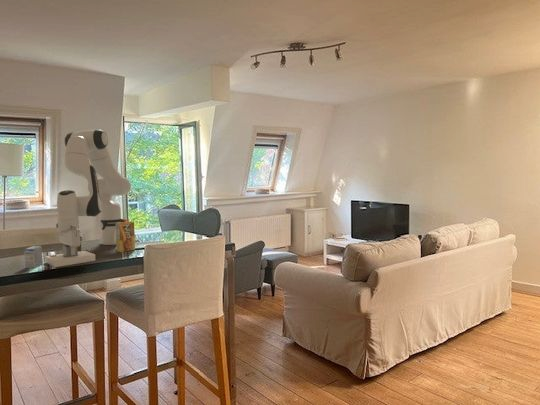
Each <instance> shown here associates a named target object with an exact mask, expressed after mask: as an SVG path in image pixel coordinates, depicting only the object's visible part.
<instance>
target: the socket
mask: <svg viewBox="0 0 540 405" xmlns="http://www.w3.org/2000/svg"><path fill="white" fill-rule="evenodd" d="M95 261H96V254H95V253H92V252H89V251H87V250H81V251H79V252H78V256H72V257H63V253H59V254H52V255H46V256H45V263H46V264H47V265H50V266H52V267H54V268H59V267H64V266H70V265H71V266H72V265H77V264H82V263H84V264H85V263H90V262H95Z"/></svg>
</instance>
